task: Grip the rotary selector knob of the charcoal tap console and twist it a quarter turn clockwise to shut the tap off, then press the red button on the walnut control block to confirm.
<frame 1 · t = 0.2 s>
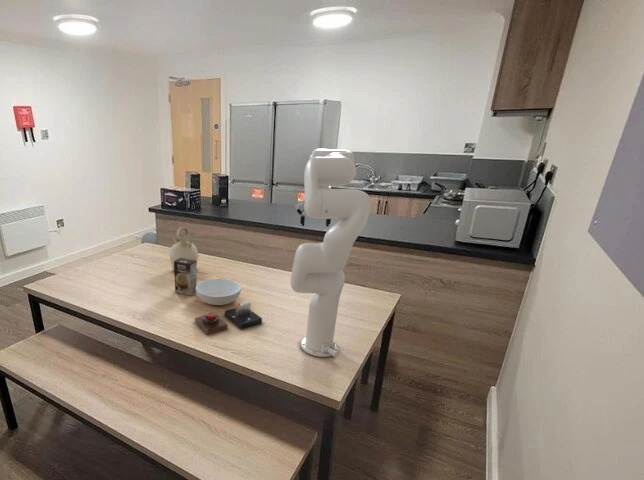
hand: (314, 225, 153), 37 cm above the table, tool pointing down, fingers open, 9 cm apart
jug: (184, 270, 209), on the table
confirm button: (210, 316, 151), point 4 cm above the table, slide at 0.1 cm
rotary selector knob: (243, 308, 155), point 5 cm above the table, hinge at 90.0°
serving bowl: (218, 300, 174), on the table
coffee box: (186, 292, 183), on the table
control block: (210, 325, 153), on the table
tap console: (242, 319, 157), on the table
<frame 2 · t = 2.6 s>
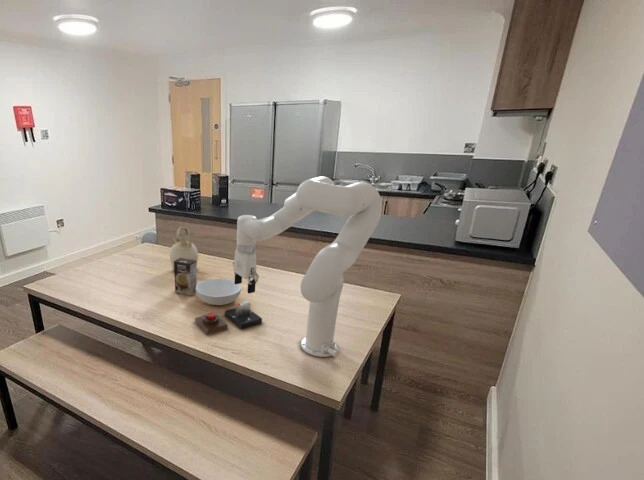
hand: (244, 287, 152), 14 cm above the table, tool pointing down, fingers open, 9 cm apart
nothing on the table moved.
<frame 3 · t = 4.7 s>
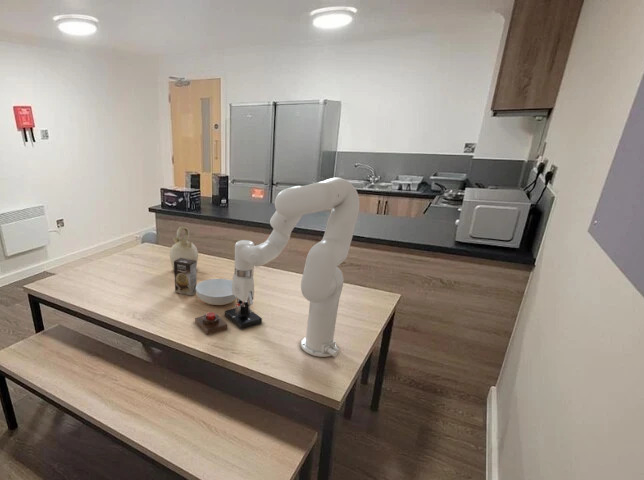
hand: (242, 312, 156), 3 cm above the table, tool pointing down, fingers closed on rotary selector knob, 2 cm apart
rotary selector knob: (243, 308, 155), point 5 cm above the table, hinge at 90.0°, touching gripper
everything else where it was.
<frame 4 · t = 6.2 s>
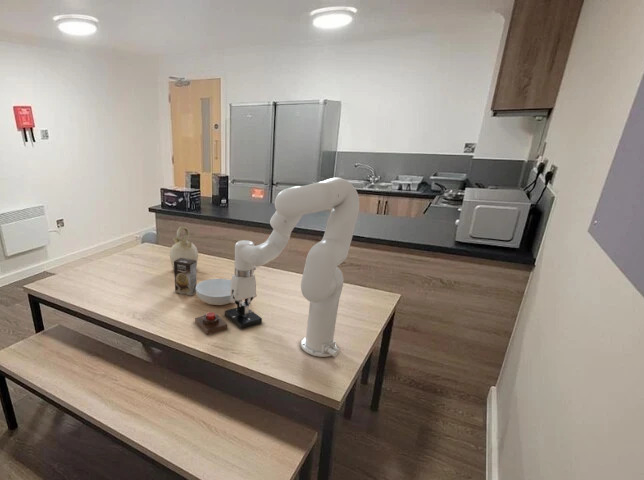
hand: (242, 312, 156), 3 cm above the table, tool pointing down, fingers closed, pressing on rotary selector knob
rotary selector knob: (243, 308, 155), point 5 cm above the table, hinge at 0.0°, touching gripper
everything else where it was.
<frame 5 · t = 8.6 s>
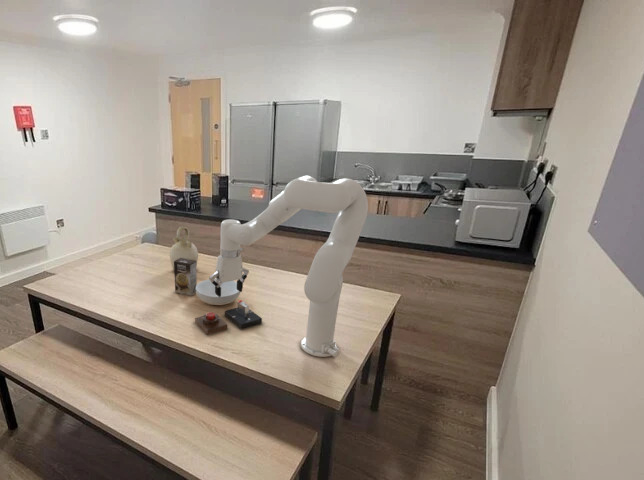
hand: (228, 292, 150), 13 cm above the table, tool pointing down, fingers open, 9 cm apart
rotary selector knob: (243, 308, 155), point 5 cm above the table, hinge at 0.0°
everything else where it was.
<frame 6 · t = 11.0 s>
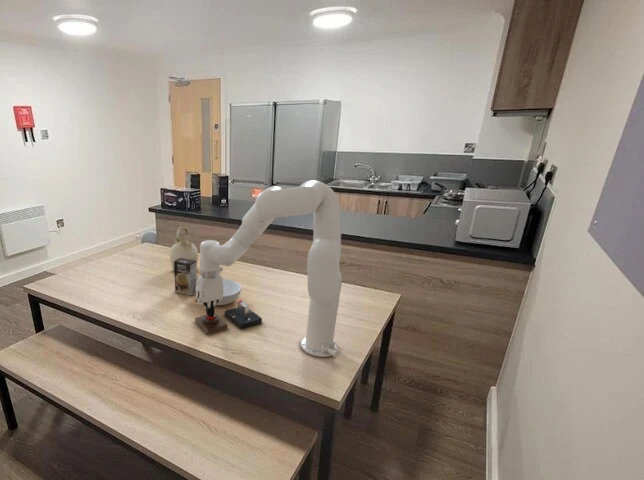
hand: (210, 315, 151), 5 cm above the table, tool pointing down, fingers closed
confirm button: (210, 317, 151), point 4 cm above the table, slide at -0.4 cm, touching gripper
everything else where it was.
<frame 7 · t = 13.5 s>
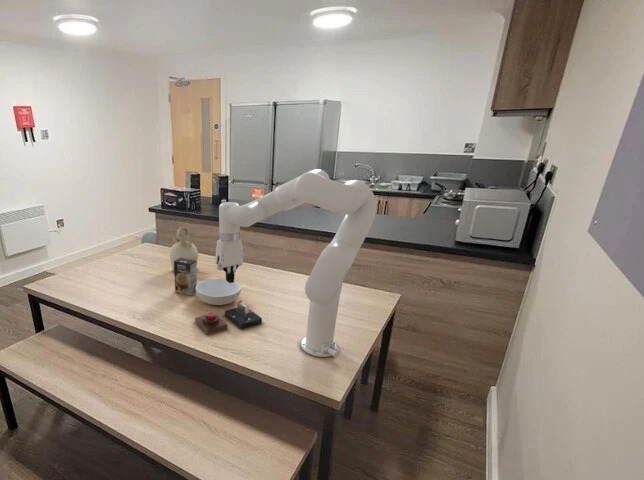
hand: (230, 281, 147), 19 cm above the table, tool pointing down, fingers closed
confirm button: (210, 316, 151), point 4 cm above the table, slide at 0.1 cm
everything else where it was.
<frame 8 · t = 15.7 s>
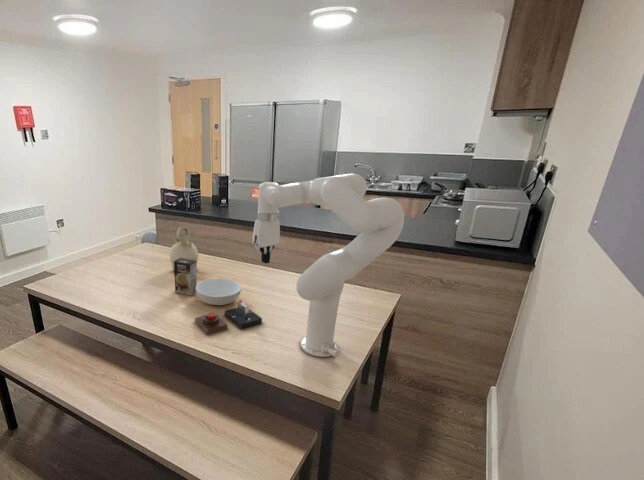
hand: (265, 262, 148), 25 cm above the table, tool pointing down, fingers closed
nothing on the table moved.
at the end: rotary selector knob at +0° (first picture: +90°); confirm button pushed in 1.1 cm at the most during the clip and back out by the end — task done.
